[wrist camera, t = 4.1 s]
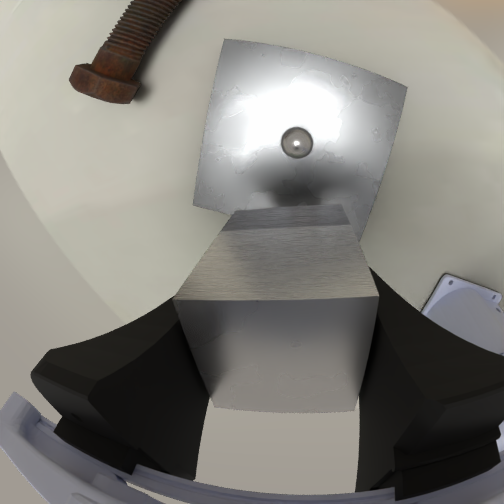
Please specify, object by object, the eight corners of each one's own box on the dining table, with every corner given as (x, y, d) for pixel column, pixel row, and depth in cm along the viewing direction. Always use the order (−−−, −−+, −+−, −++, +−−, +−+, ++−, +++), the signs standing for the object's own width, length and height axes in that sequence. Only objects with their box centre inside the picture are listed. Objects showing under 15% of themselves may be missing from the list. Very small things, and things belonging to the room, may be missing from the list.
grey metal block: (340, 294, 12) (354, 410, 7) (249, 296, 13) (214, 407, 8) (341, 204, 11) (379, 295, 5) (235, 210, 12) (172, 299, 6)
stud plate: (402, 88, 14) (421, 83, 11) (353, 243, 19) (361, 264, 17) (228, 42, 14) (214, 29, 11) (197, 201, 20) (180, 216, 17)
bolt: (235, -40, 12) (134, 97, 18) (184, -62, 9) (83, 79, 15) (257, -62, 7) (124, 111, 14) (192, -90, 5) (59, 88, 11)
